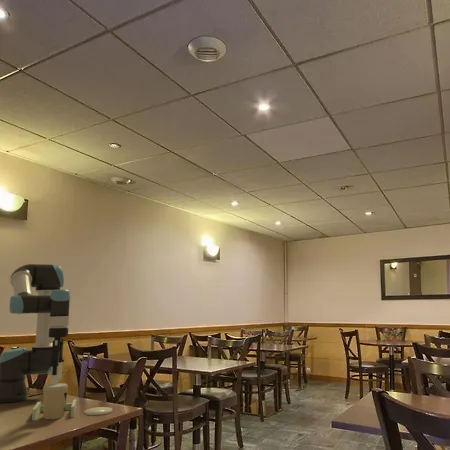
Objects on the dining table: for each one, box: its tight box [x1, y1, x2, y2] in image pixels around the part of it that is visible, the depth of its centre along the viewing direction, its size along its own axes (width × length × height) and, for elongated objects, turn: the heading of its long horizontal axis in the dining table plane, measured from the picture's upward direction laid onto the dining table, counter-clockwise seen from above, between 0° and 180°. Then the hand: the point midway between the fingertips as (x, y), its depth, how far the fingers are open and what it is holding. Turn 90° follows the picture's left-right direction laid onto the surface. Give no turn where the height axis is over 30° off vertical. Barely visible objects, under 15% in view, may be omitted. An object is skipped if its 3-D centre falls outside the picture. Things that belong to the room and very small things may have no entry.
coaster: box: [84, 406, 113, 416], centre depth 180 cm, size 11×11×1 cm
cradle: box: [31, 399, 78, 421], centre depth 177 cm, size 15×15×4 cm
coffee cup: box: [42, 382, 69, 420], centre depth 174 cm, size 9×9×12 cm
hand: (56, 381), depth 175 cm, fingers open, 13 cm apart
